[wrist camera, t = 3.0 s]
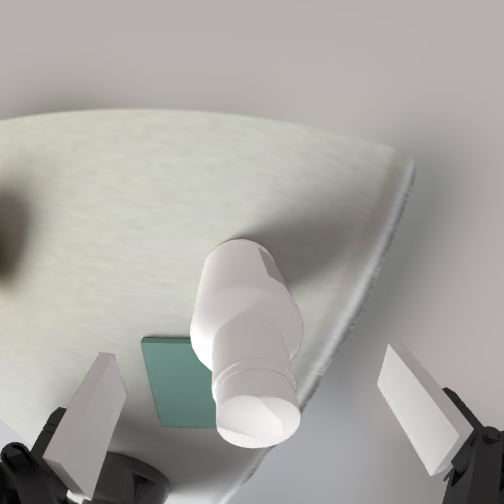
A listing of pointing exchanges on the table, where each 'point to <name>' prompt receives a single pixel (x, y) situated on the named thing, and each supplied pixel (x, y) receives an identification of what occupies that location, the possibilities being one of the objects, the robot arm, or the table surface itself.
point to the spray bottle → (248, 344)
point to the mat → (179, 383)
